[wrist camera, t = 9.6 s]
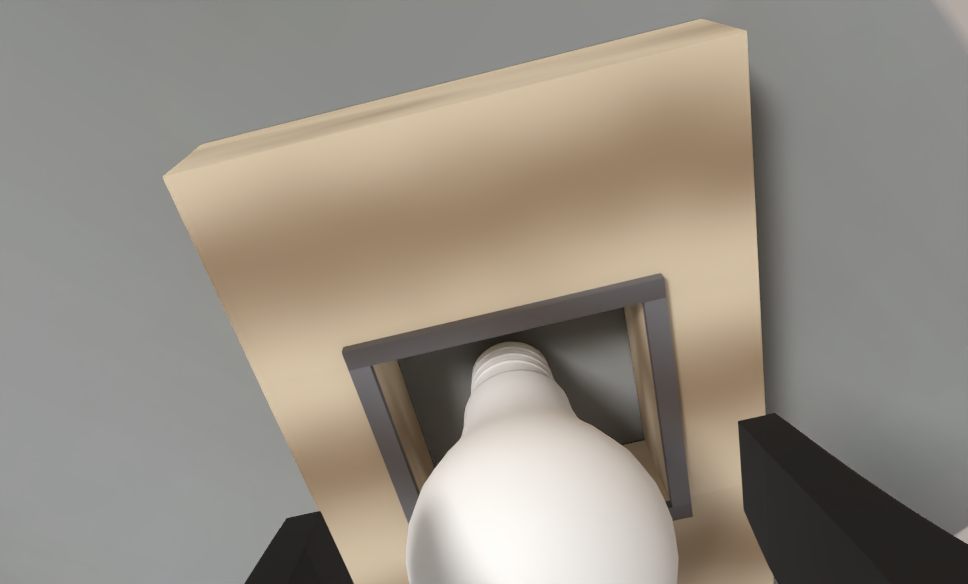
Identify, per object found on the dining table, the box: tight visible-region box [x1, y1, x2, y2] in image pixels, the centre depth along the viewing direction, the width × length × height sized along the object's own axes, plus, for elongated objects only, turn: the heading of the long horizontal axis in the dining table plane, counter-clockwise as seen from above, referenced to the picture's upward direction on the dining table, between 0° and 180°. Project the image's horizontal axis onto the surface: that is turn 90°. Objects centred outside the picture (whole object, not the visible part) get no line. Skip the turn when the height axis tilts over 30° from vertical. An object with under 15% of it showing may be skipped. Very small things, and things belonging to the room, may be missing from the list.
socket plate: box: [163, 19, 774, 584], centre depth 22 cm, size 20×14×3 cm
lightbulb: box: [406, 341, 679, 584], centre depth 18 cm, size 6×6×11 cm
